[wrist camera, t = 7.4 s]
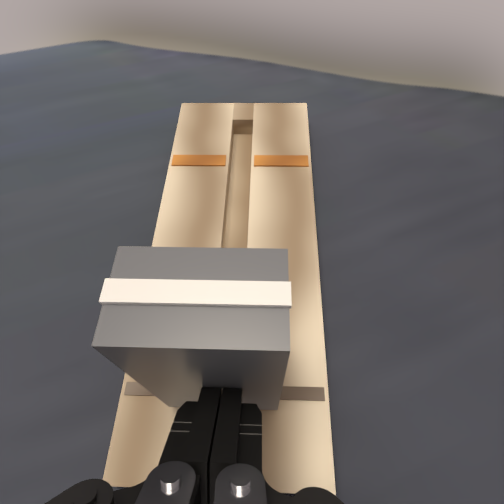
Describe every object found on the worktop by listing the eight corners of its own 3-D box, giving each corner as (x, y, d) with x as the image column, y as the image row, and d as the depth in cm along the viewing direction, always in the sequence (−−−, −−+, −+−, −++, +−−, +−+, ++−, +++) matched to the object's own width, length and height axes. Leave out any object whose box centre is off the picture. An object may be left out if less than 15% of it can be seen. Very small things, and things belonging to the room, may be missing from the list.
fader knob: (174, 412, 18) (87, 344, 9) (182, 352, 20) (115, 243, 11) (277, 415, 18) (293, 349, 9) (276, 354, 20) (289, 245, 10)
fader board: (117, 485, 17) (100, 486, 16) (186, 123, 31) (181, 101, 29) (328, 493, 17) (336, 495, 15) (304, 124, 31) (306, 101, 29)
